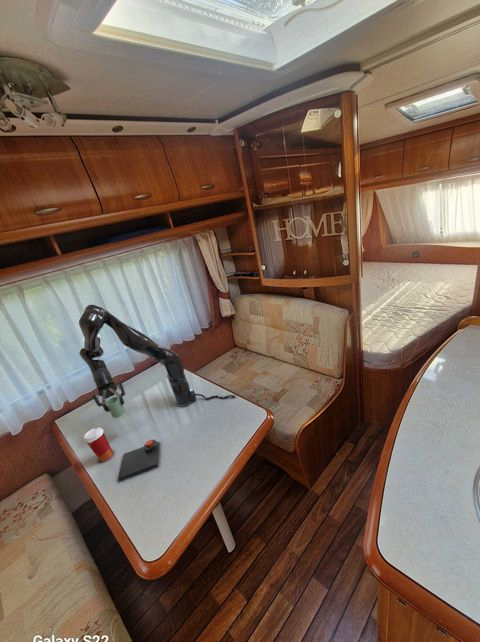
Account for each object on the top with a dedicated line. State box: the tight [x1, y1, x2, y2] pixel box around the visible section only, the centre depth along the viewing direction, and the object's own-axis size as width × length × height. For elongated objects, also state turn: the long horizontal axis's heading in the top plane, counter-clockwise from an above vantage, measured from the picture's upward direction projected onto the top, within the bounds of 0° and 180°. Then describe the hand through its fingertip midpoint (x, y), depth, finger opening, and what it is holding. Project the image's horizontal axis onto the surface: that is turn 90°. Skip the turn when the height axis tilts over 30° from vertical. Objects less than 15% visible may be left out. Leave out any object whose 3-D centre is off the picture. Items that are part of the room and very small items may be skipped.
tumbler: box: [105, 396, 126, 419], centre depth 134 cm, size 6×6×8 cm
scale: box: [117, 439, 160, 482], centre depth 122 cm, size 16×14×4 cm
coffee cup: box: [83, 427, 114, 462], centre depth 126 cm, size 8×8×15 cm
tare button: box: [145, 439, 154, 448], centre depth 126 cm, size 3×3×2 cm
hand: (115, 408), depth 132 cm, fingers closed on tumbler, 6 cm apart
